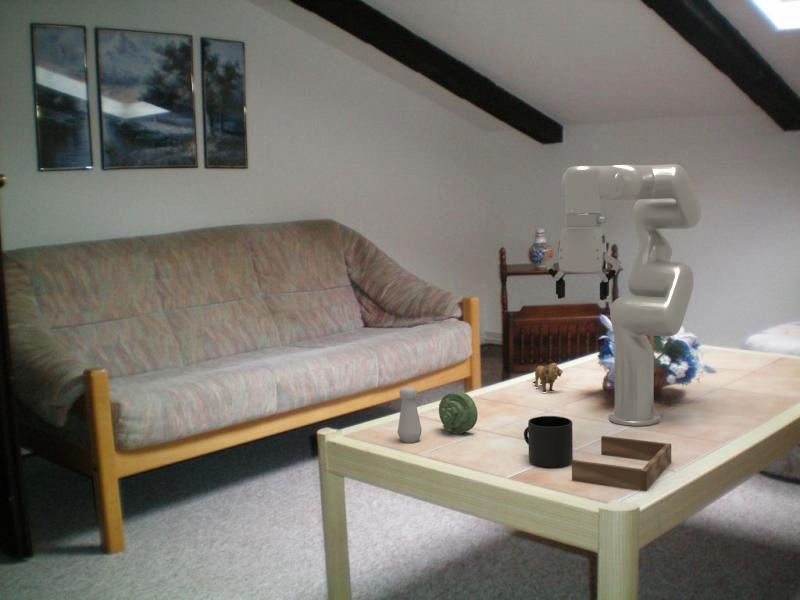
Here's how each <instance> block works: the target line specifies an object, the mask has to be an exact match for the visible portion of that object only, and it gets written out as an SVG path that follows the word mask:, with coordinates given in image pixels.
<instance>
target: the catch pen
mask: <svg viewBox="0 0 800 600" xmlns="http://www.w3.org/2000/svg"><path fill="white" fill-rule="evenodd" d="M600 440H601V441H600V442H601V443H600V444H601V445H600V447H601V449H600V452H601V455H602V456H611V457H617V458H627V459H634V460H640V461H641V460H642V461H648V462H647V463H646V464H645V465H644V467H642V468H638V467H637V468H636V467H630V466H629V467H628V466H623V465H621V466H620V465H616V464H615V465H614V464H613V465H612V464H608V463H607V464H606V463H599V462H592V461H585V460H578V459H573V461H572V463H571V481H575V482H580V481H581V483H587V484H593V485H594V484H595V485H601V486H602V485H603V486H608V487H614V488H621V489H622V488H623V489H629V490H635V491H640V492H641V491H643V492H646V491H648V490H649V488H650V487H651V486H652V485H653V484H654V483H655V481H656V480H657V479H658V478H659V477H660V475H661V474H662V473H663V472H664V471H665V470H666V468H667V467H668V466H669V465H670V464H671V463H672V443H669V442H668V443H666V442H658V441H648V440H640V439H632V438H624V437H615V436H607V435H602V436H601V439H600Z"/></svg>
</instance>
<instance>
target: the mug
mask: <svg viewBox="0 0 800 600" xmlns="http://www.w3.org/2000/svg"><path fill="white" fill-rule="evenodd" d="M527 423H528V425H527V426H526V428H525V429H524V431H523V438H524V441H525V443H526V444H527V445H528V461H529V463H530V464H531V465H533V466H536V467H540V468H546V469H556V468H557V469H560V468H565V467H568V466H570V465H572V461H573V460H574V457H573V454H574V453H573V452H574V451H573V442H574V441H573V421H572V420H571V419H569V418H567V417H565V416H558V415H543V416H536V417H532V418H530V419H528V421H527Z"/></svg>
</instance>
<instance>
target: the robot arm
mask: <svg viewBox="0 0 800 600" xmlns="http://www.w3.org/2000/svg"><path fill="white" fill-rule="evenodd" d="M560 181H561V182H560V185H561V190H562V193H563V194H564V196H565V198H564V199H565V200H564V201H565V202H564V204H565V208H564V209H565V211H564V213H565V218H564V219H565V220H564V221H565V222H564V228H562V231H561V234H560V239H559V247H558V248H559V249H558V253H557V254H556V255H554V256H552V257H550V258H548V259H547V260H545V261H544V266H545V268H546V270H547V272H548V274H549V275H550V276H551V277H552V278H553V280H554V281H555V294H556V295H557V299H561V300H562V299H564V298H566V280H565V279H564V277H565V276H566V275H567V274H596V275H597V276H598V277H599V278H600V280H601V282H599V300H600V301H605V300H607V299H608V298H607V297H609V296H610V282H611V280H612V279H613V278H614V277H616V275H617V274H618V272H619V270H620V267H621V266H622V265H623V264H622V261H620V260H619V259H617V258H615V257H613V256H610V255H609V254H608V252H607V251H608V250H607V242H606V241H607V240H606V233H605V228H604V227H601V224H605V223H606V222H607V217H606V216H603V215H602V214H601V200H604V201H606V200H607V201H633V200H634V201H635V200H636V202H635V203H634V205H633V209H632V217H633V221H634V222H633V223H634V228H635V231H636V235H637V241H638V248H637V251H636V254H635V258H634V261H633V264H632V266H631V269H630V272H629V274H628V280H627V289H628V291H629V293H630V294H631V295H622V296H619V297H618V298H616V299H615V300H613V302H612V304H611V306H610V310H609V314H610V315H609V316H610V324H611V327H612V333H613V347H614V349H613V350H614V361H613V362H614V410H613V411H611V412H609V413H608V420H609V421H610V422H612V423H614V424H618V425H622V426H631V427H632V426H636V427H637V426H638V427H640V426H643V427H644V426H651V425H656V424H657V423H659V422H660V421H661V415H660V414H658V413H657V412H655V411H654V410H655V409H654V401H655V399H654V396H655V395H654V390H655V389H654V388H655V387H654V384H655V383H654V378H655V377H654V371H655V370H654V367H655V365H654V364H655V363H654V362H655V358H654V349H653V346H652V344H651V343H650V340H649V339H648V337H647V336H656V337H658V336H659V337H674V336H675V335H677V334H678V333H679V332H680V330H681V327H682V325H683V323H684V319H685V316H686V313H687V309H688V306H689V304H690V300H691V296H692V293H693V290H694V274H693V270H692V268H691V267H690V266H689V265H688V264H687V263H685V262H682V261H671V258H672V254H673V248H672V245H671V244H670V242H669V241H668V239H667V238H666V237H665V236H664V234H663V233H662V231H661V230H687V229H692V228H694V227H696V226H697V225H698V224H699V222H700V220H701V216H702V208H701V203H700V201H699V198H698V195H697V193H696V190H695V188H694V185H693V183H692V181H691V179H690V176H689V175H688V173H687V171H686V170H685V169H684V168H683V167H682V166H681V165H679V164H676V163H671V164H670V163H668V164H645V165H644V164H615V165H573V166H570V167H568V168H567V169H566V171H565V172H564V173H563V175H562V177H561V180H560ZM556 262H558V271H557V269H555V267H554V263H556ZM608 263H609V264H610V265H611V266H612V268H611V270H610V271H608V272H607V269H608Z"/></svg>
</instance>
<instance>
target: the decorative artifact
mask: <svg viewBox="0 0 800 600" xmlns="http://www.w3.org/2000/svg"><path fill="white" fill-rule="evenodd" d="M438 415H439V418H440V421H441V424H442V428H444V429H445V430H447V431H448V432H451V433H453V434H456V433H458V434H459V435H460V434H463V433H467V432H468V431H470V430H472V429H473V428H474V427H475V425H476V424H477V421H478V409H477V405H476V402H475V401H474V399H473V398H472V397H471V395H469V394H468V393H466V392H464V391H454V392H450V393H448V394H446V395H444V396H443V397H442V398H441V399H440V401H439V404H438ZM458 434H457V435H458Z"/></svg>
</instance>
